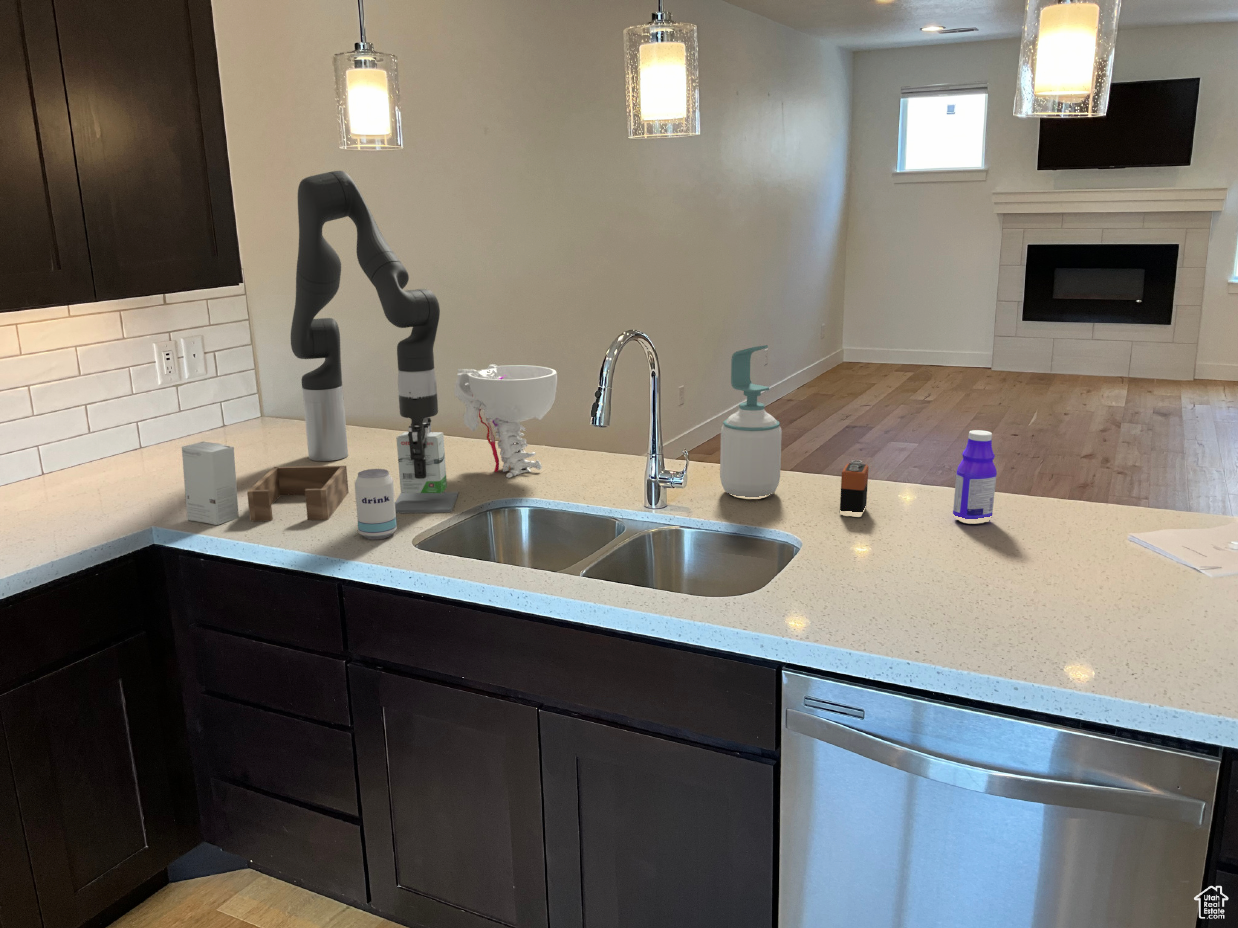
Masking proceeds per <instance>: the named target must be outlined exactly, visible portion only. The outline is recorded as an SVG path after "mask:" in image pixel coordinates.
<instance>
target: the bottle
mask: <svg viewBox="0 0 1238 928" xmlns="http://www.w3.org/2000/svg"><path fill="white" fill-rule="evenodd" d="M967 438H968V439H967V444H966V447H965V449H964V450H963V452H962V453H961V455H962V459H961V461H960V463H959V464H958V466H957V469H956V475H955V487H954V498H953V510H952V514H954V515H955V516H958V517H962V518H965V519H978V518H984V517H990V516H992V517H993V511H994V503H995V502H994V501H995V494H996V493H995V492H996V491H995V490H996V482H997V467H996V466H995V463H994V461H993V460H994V459H995V457H996V456H995V454H994V450H993V445H992V442H993V441H992V440H993V433H992V432H991V431H987V430H981V429H979V430H978V429H975V430H974V429H973V430H970V431H969V432H968V436H967Z"/></svg>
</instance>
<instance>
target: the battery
mask: <svg viewBox="0 0 1238 928" xmlns="http://www.w3.org/2000/svg"><path fill="white" fill-rule="evenodd" d="M868 483H869V464H864V463H863V461H862V460H860V459H854V460H853V459H852V460H851V461H850V462H848V463H846V464H845V466H844V468H843V469H842V471H841V480H840V497H839V511H840V510H841V511H852V512H863V510H864V508H865V506H866V507H867V498H868V497H867V496H868Z"/></svg>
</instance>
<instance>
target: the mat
mask: <svg viewBox="0 0 1238 928" xmlns="http://www.w3.org/2000/svg"><path fill="white" fill-rule="evenodd" d="M458 496H459V492H458V491H443V492H442V493H401V492H400V493H399V495H398V496H397V498H396V500H395V512H396V514H414V513H415V514H420V513H422V514H423V513H424V514H425V513H426V514H427V513H452V511H453V509H454V507H455V504H456V501H457V498H458Z"/></svg>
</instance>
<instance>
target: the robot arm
mask: <svg viewBox="0 0 1238 928" xmlns="http://www.w3.org/2000/svg"><path fill="white" fill-rule="evenodd" d="M358 187H359V186H357V184H356V183H355V181H354V179H353V178H352V177H351V176H350V175H349V174H348V173H347V172H345V171H343V170H334V171H329V172H328V171H327V172H323V173H319V174H314V175H310V176H306V177H304V178H303V179H301V180H300V182H299V184H298V187H297V214H298V215H297V216H298V218H297V219H298V248H297V250H298V251H297V260H296V271H295V272H296V273H295V275H296V276H295V303H294V310H293V314H292V315H293V316H292V321H291V328H290V346H291V347H290V348H291V350H292V353H293V355H294V356H295V357H296V358H297V359H301V360H315V359H316V360H317V359H324V362H323V363H321V365H320V366H317V368H315V369H313V370H311V371H309V372H306V373H305V374H303V375H302V376H301V389H302V390H301V392H302V399H303V401H302V402H303V410H304V422H305V432H306V442H307V455H308V459H309V460H310V461H311V460H312V461H315V462H330V461H336V460H342V459H345V458H347V457H348V456H349V451H348V450H349V449H348V447H349V446H348V437H347V425H346V424H347V423H346V412H345V401H344V391H343V390H344V389H343V388H344V387H343V376H342V359H341V334H340V328H339V324H338V322H337V320H335V318H332V317H324V318H323V317H322V318H315V317H316V316H317V315H318V314H319V313H320V312H321V311H322V310H323V309H324V308H325V307H326V306H327V305H328V304H329V303H330V302H331V301H332V300H333V299H334V298H335V296H336V294H337V293H338V291H339V288H340V285H341V284H340V283H341V275H342V274H341V273H342V262H341V259H340V256H339V255H338V253H337V252H336V250H335V249H334V248H333V246H332V245H331V244H330V243H329V242H328V240H326V239H325V237H324V235H323V229H324V228H323V227H324V224H326V223H327V222H331V221H334V220H335V221H336V220H339V219H343V218H344V219H345V218H346V217H348V218H349V219H351V221H352V222H353V223H354V225H355V228H356V259H357V261H358V264H359V266H360V268H361V270H362V271H363V273H364V274H365V276H366V277H367V278H368V280H369V281H370V283H371V284H372V286H374V287H375V290H376V293H377V296H378V299H379V302H380V304H381V307H382V310H383V314H384V316H385V318H386V319H387V321H388V322H390V323H391V324H392V325H393V326H394V327H397V328H398V329H399V328H400V329H408V328H412V329H411V333H410V334H409V335H408V337H405V338H404V339H402V340H400V341H399V342H398V344H397V346H396V356H397V357H396V358H397V372H398V373H397V390H398V392H397V394H398V403H399V406H398V409H399V416H401V417H402V418H405V419H410V420H411V422H410V425H409V426H408V432H409V433H408V436H409V445H410V458H411V460H414V472H415V478H417V479H424V478H425V477H426V461H425V459H426V452H425V449H426V448H427V447H428V444H427V437H425V442H424V444H423V439H424V436H428V435H429V433H430V432H432V417H435V416H437V415H438V413H439V406H438V403H439V402H438V386H437V376H436V372H435V370H436V369H435V356H434V347H435V341H436V338H437V336H436V335H437V331H438V328H439V321H440V315H441V312H440V311H441V310H440V302H439V300H438V298H437V296H436V295H435V294H434V292H432V290H430V289H427V288H421V289H420V288H418V289H410V290H408V289H407V290H404V288H406V286H407V284H408V283H409V279H410V275H409V272H408V270H407V269H406V267H405V266H404V265H403V263H402V261H400V259H399V257H398V256H397V255H396V253H395V252H394V251H393V249H392V248H391V247H390V245H389V243H387V242H388V241H386V239H385V237H384V236H383V234H382V231H380V228H379V226H378V224H377V222H376V220H375V217H374V216H373V213H372V212H371V209H370V207H368V204H367V202H366V200H365V199H364V197H363V195H362V193H361V191H360V189H359V188H358ZM416 449H419V450H420V453H416Z"/></svg>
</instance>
